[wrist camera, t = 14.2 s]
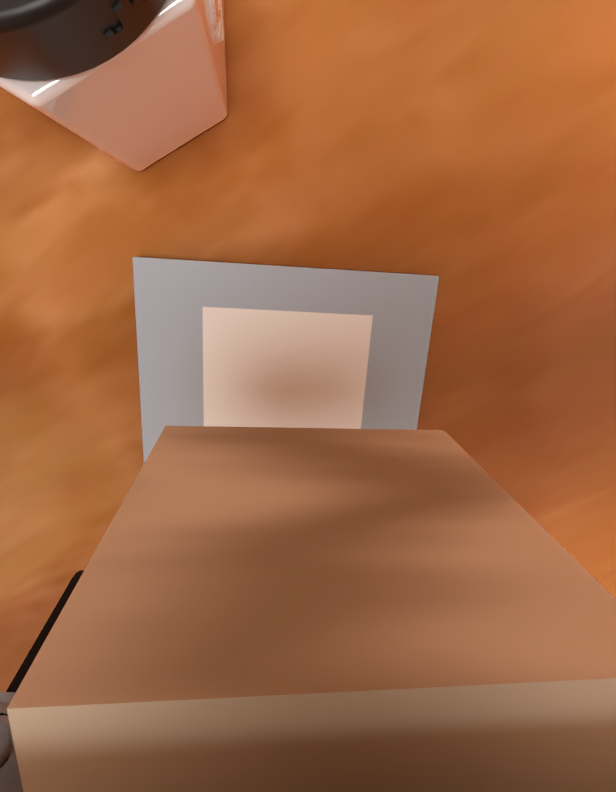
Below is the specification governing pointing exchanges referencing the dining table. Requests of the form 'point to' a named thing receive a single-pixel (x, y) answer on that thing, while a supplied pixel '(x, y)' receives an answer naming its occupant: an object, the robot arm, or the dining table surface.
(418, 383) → the board
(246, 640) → the birch block
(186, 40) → the jar
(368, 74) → the dining table surface
